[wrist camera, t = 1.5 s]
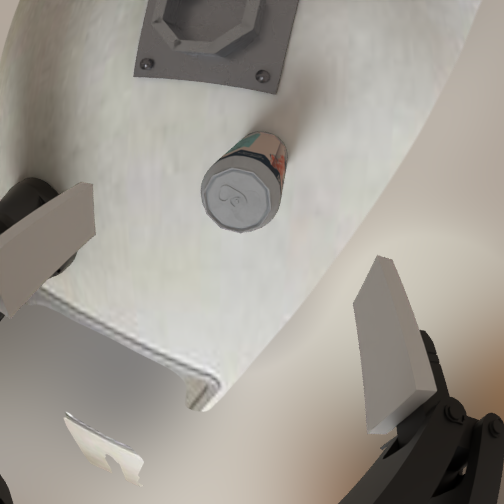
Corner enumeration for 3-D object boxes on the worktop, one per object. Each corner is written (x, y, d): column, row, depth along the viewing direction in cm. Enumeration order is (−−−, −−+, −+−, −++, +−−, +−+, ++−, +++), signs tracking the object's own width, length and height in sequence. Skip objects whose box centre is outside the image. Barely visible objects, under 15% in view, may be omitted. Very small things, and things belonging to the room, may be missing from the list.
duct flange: (136, 76, 23) (116, 77, 20) (164, -41, 16) (148, -52, 13) (276, 94, 23) (272, 94, 20) (306, -34, 16) (307, -49, 13)
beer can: (270, 188, 28) (252, 253, 18) (228, 163, 27) (183, 213, 17) (297, 148, 25) (296, 189, 15) (252, 121, 25) (219, 143, 15)
